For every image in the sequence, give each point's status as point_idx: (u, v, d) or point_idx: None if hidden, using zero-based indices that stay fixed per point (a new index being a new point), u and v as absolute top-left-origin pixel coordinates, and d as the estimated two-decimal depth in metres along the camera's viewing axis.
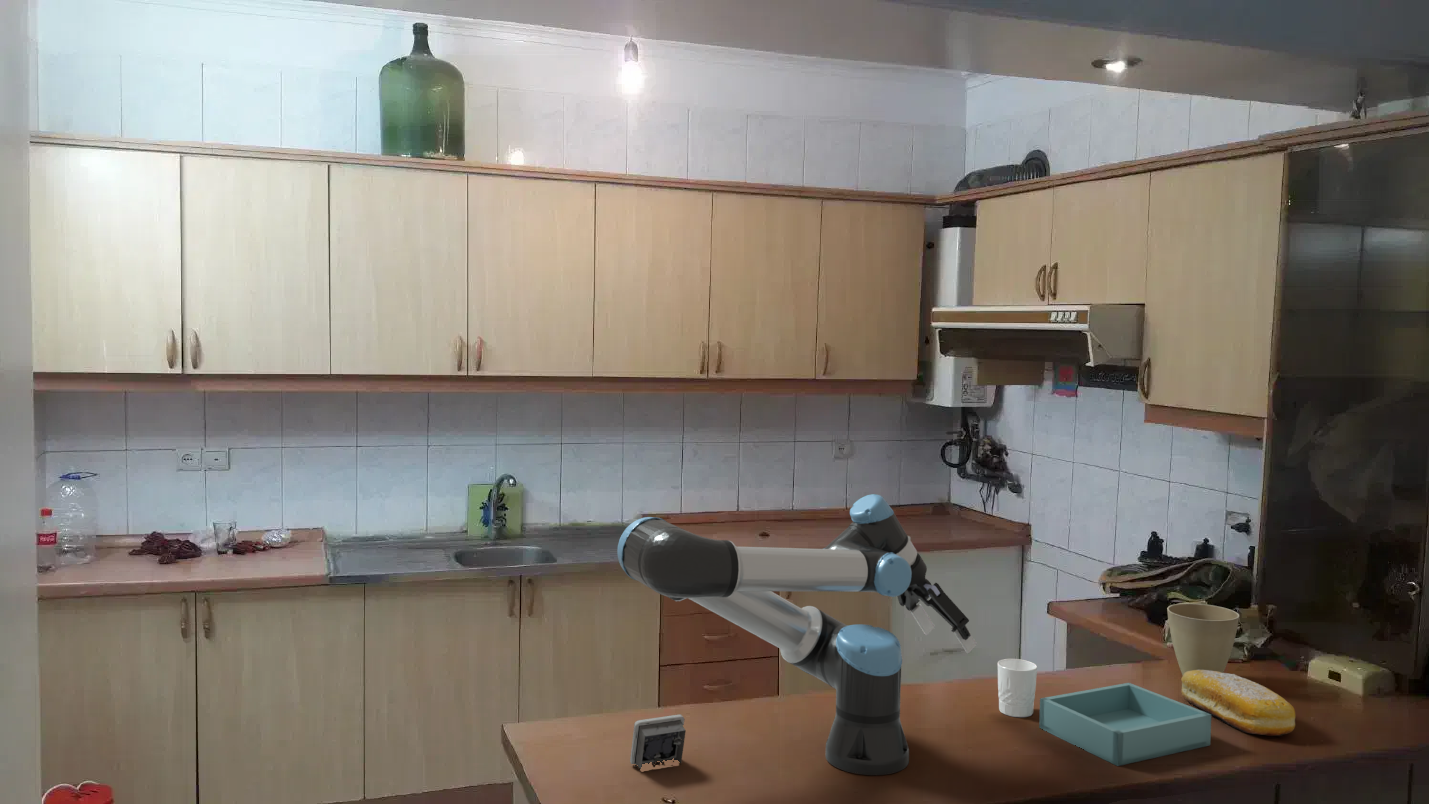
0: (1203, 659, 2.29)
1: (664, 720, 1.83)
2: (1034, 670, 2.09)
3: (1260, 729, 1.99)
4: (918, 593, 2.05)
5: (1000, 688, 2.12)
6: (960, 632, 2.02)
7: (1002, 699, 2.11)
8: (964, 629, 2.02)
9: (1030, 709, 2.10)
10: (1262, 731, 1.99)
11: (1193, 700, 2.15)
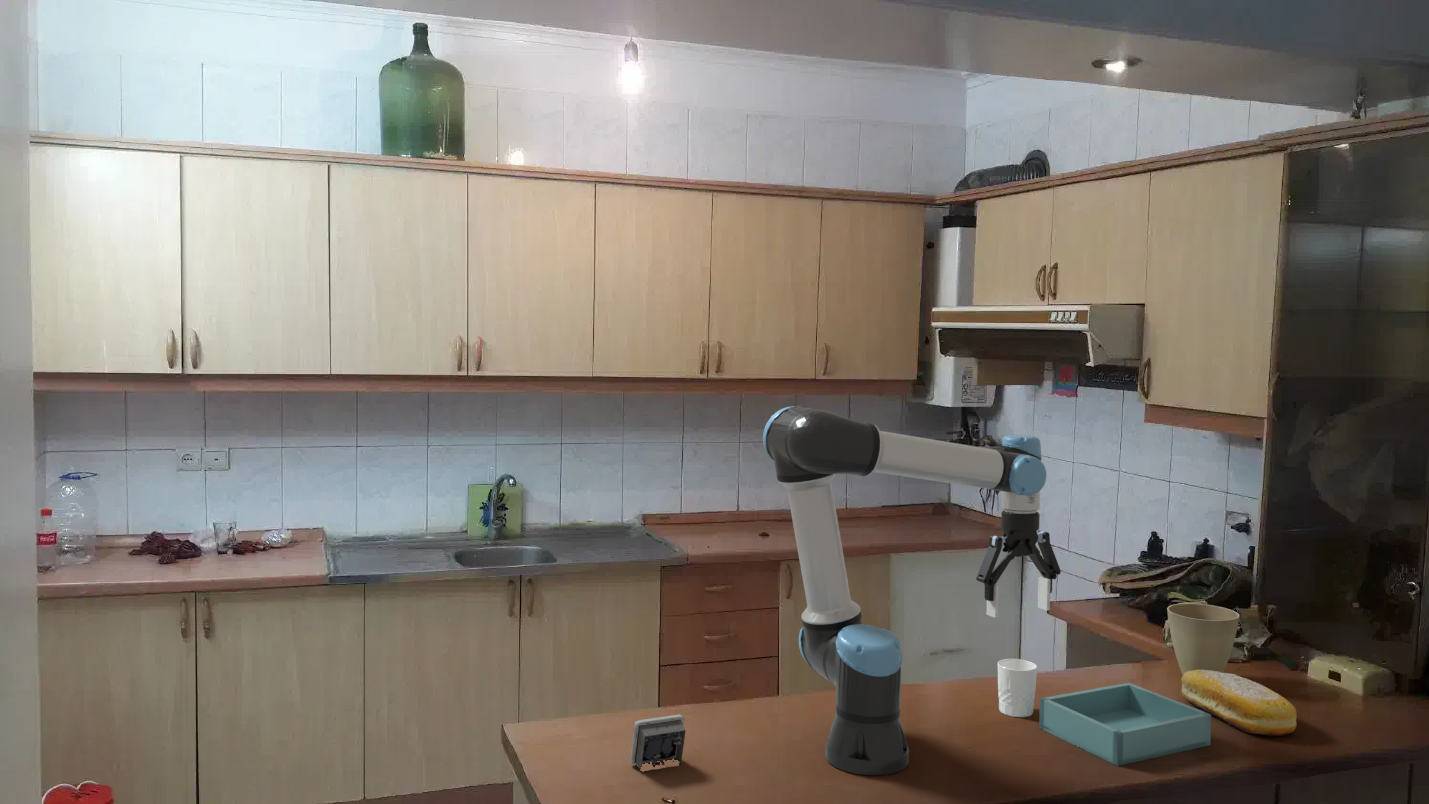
0: (1203, 659, 2.29)
1: (664, 720, 1.83)
2: (1034, 670, 2.09)
3: (1262, 729, 1.99)
4: None
5: (1000, 688, 2.12)
6: None
7: (1002, 699, 2.11)
8: (987, 590, 2.08)
9: (1030, 709, 2.10)
10: (1264, 731, 1.99)
11: (1194, 700, 2.15)
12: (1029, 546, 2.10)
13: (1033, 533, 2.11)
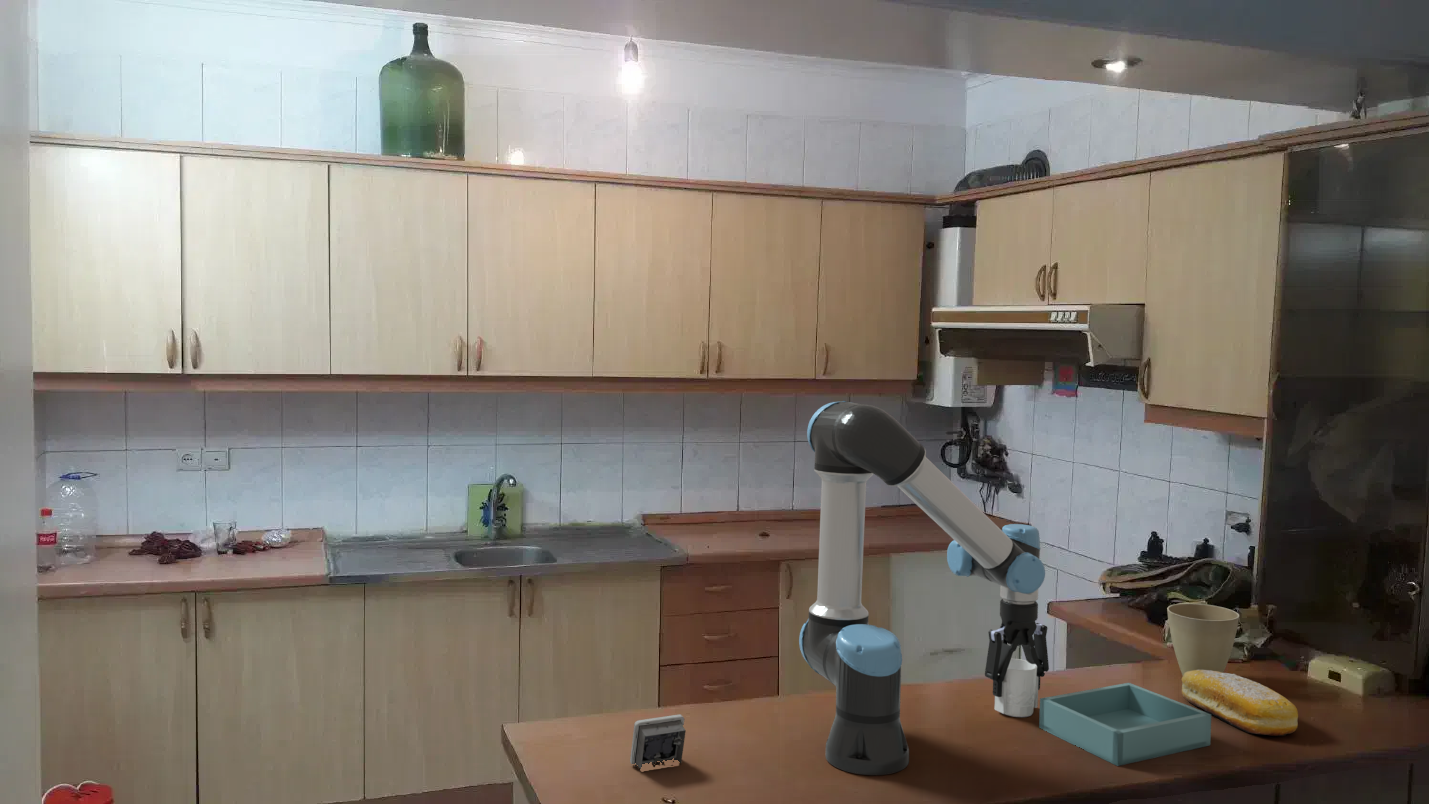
0: (1203, 659, 2.29)
1: (664, 720, 1.83)
2: (1034, 670, 2.09)
3: (1264, 729, 1.99)
4: None
5: None
6: None
7: None
8: (995, 686, 2.10)
9: (1030, 709, 2.10)
10: (1266, 731, 1.99)
11: (1194, 700, 2.14)
12: (1026, 635, 2.11)
13: (1031, 622, 2.12)
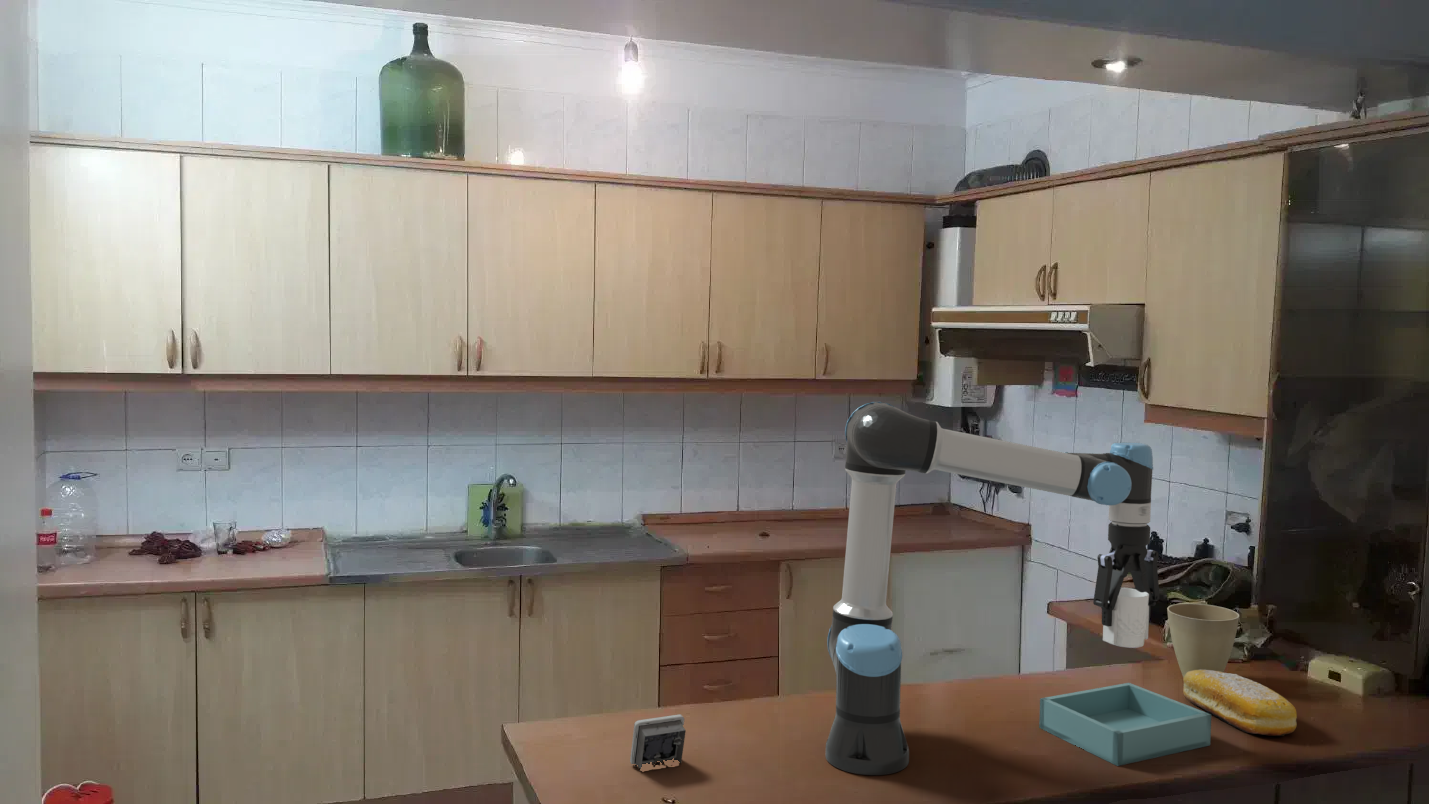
0: (1203, 659, 2.29)
1: (664, 720, 1.83)
2: (1147, 597, 1.96)
3: (1261, 729, 1.99)
4: None
5: None
6: None
7: None
8: (1105, 614, 1.96)
9: (1142, 639, 1.96)
10: (1263, 731, 1.99)
11: (1195, 700, 2.15)
12: (1137, 561, 1.97)
13: (1142, 547, 1.98)
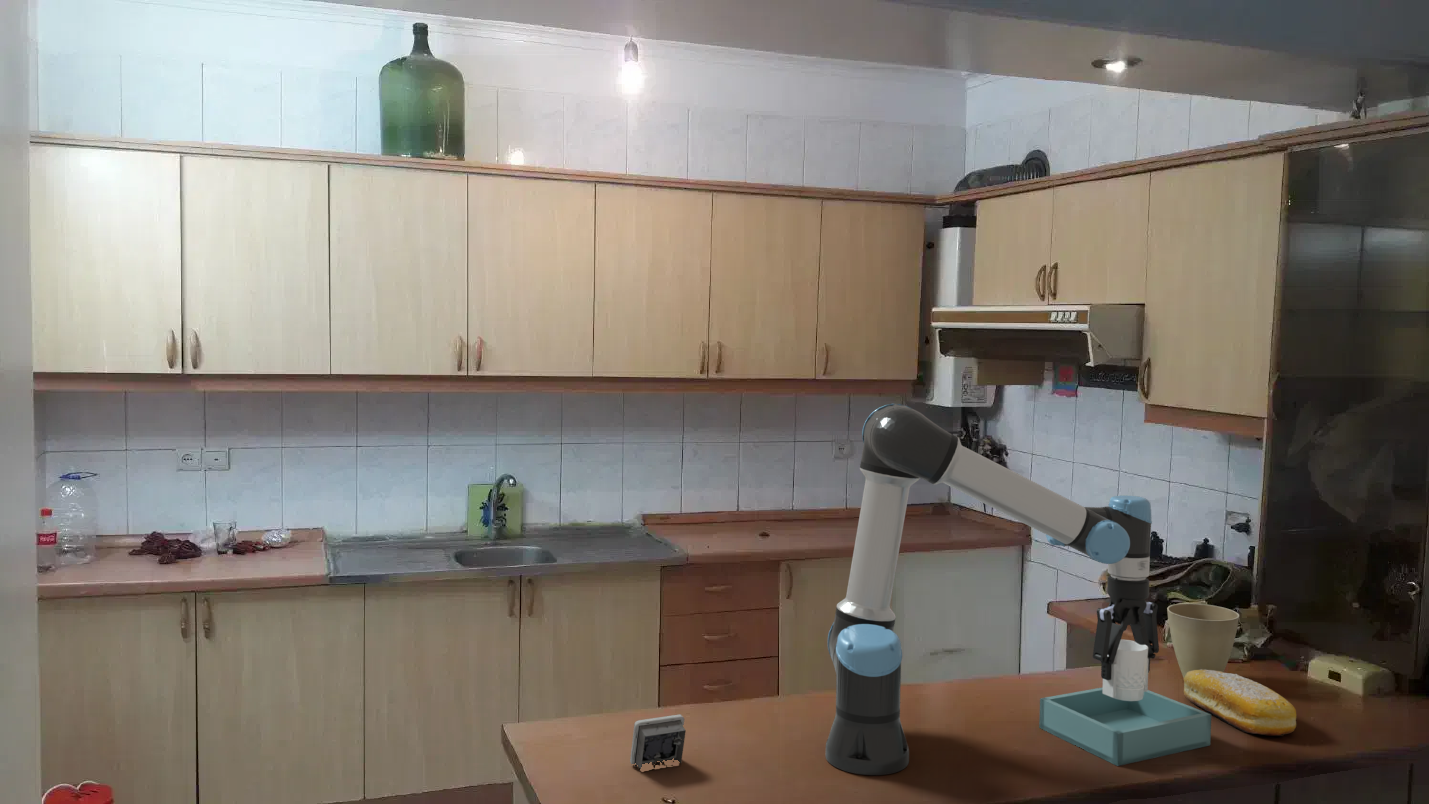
0: (1203, 659, 2.29)
1: (664, 720, 1.83)
2: (1146, 651, 1.96)
3: (1260, 728, 1.99)
4: None
5: None
6: None
7: None
8: (1104, 668, 1.96)
9: (1141, 692, 1.97)
10: (1262, 731, 1.99)
11: (1195, 700, 2.15)
12: (1137, 614, 1.97)
13: (1141, 600, 1.98)
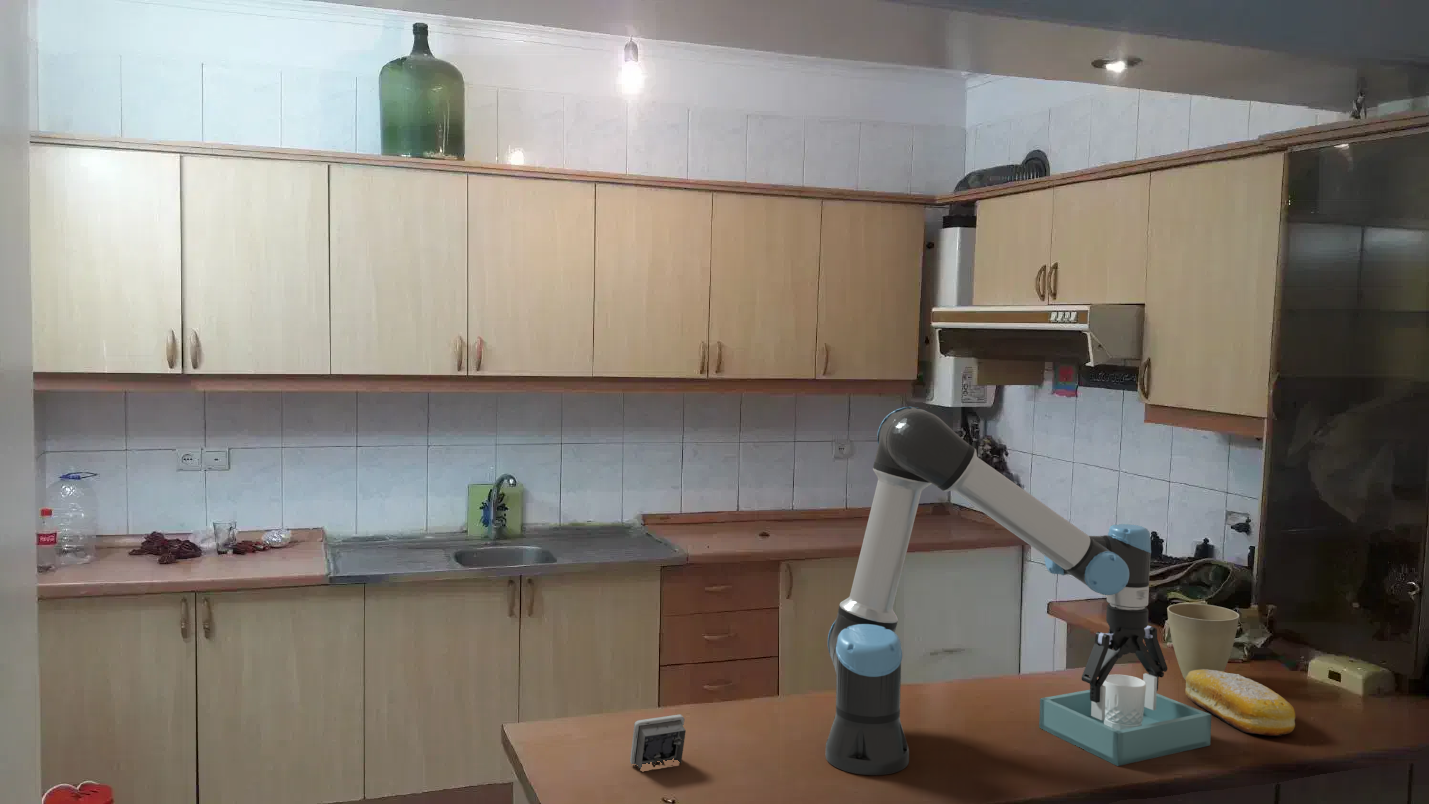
0: (1203, 659, 2.29)
1: (664, 720, 1.83)
2: (1144, 687, 1.97)
3: (1258, 728, 1.99)
4: None
5: (1106, 706, 1.99)
6: None
7: (1109, 717, 1.98)
8: (1093, 690, 1.96)
9: None
10: (1260, 731, 1.99)
11: (1195, 699, 2.15)
12: (1136, 643, 1.98)
13: (1140, 629, 1.99)
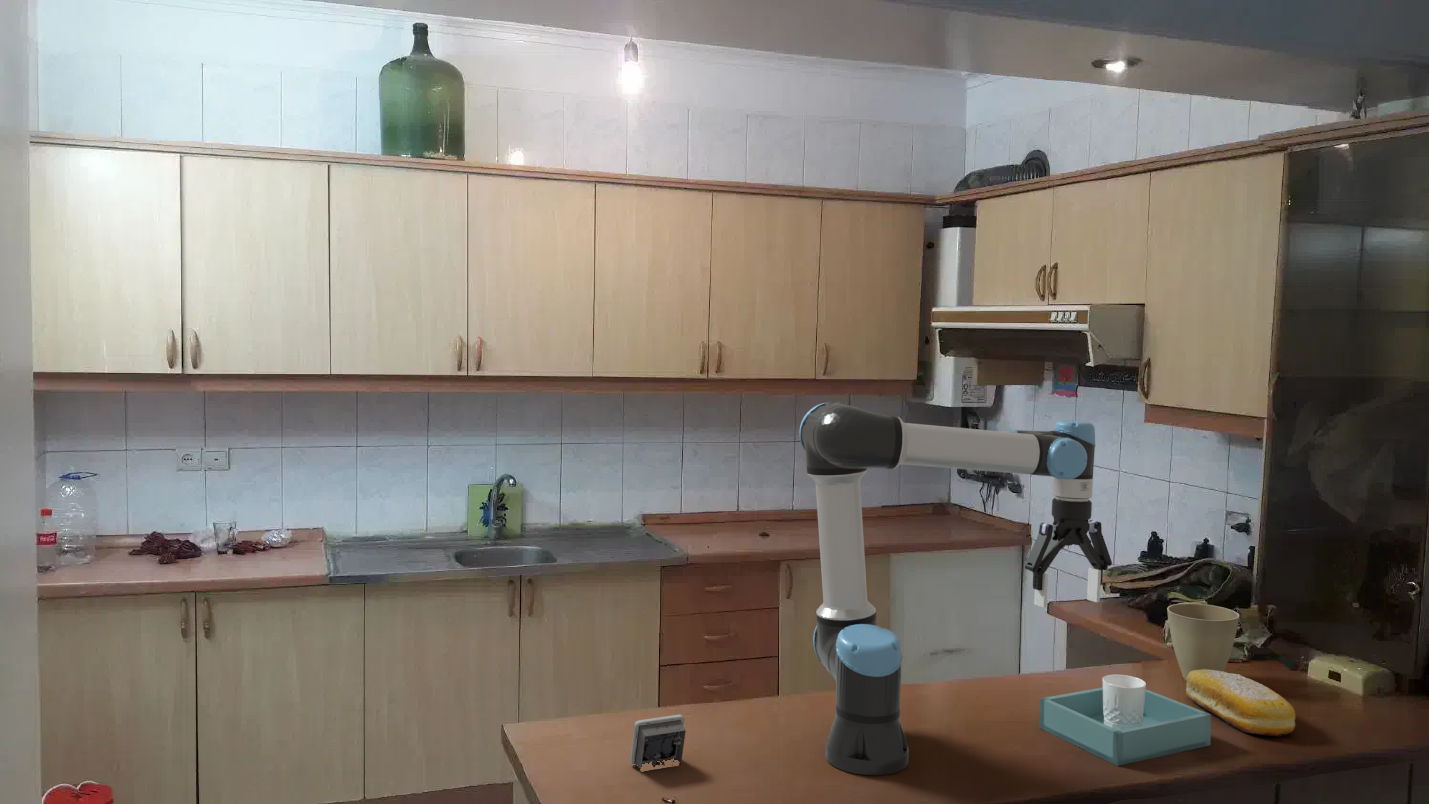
0: (1203, 659, 2.29)
1: (664, 720, 1.83)
2: (1144, 687, 1.96)
3: (1258, 728, 1.99)
4: None
5: (1106, 706, 1.99)
6: None
7: (1109, 718, 1.98)
8: (1036, 578, 2.02)
9: None
10: (1260, 731, 1.99)
11: (1195, 699, 2.15)
12: (1080, 535, 2.04)
13: (1084, 522, 2.05)
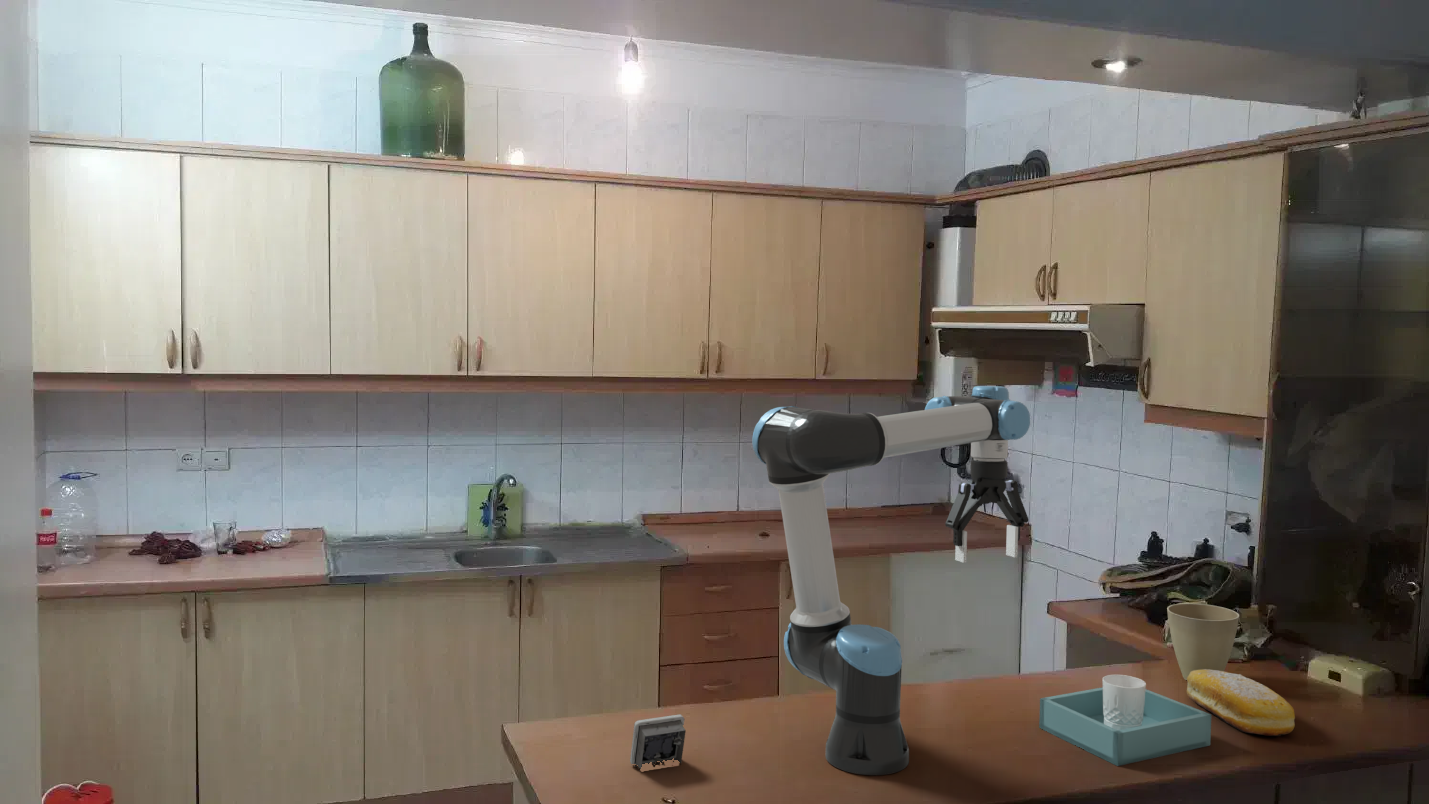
0: (1203, 659, 2.29)
1: (664, 720, 1.83)
2: (1144, 687, 1.97)
3: (1256, 728, 1.99)
4: None
5: (1106, 706, 1.99)
6: None
7: (1109, 718, 1.98)
8: (956, 535, 2.13)
9: None
10: (1259, 731, 1.99)
11: (1196, 699, 2.15)
12: (997, 494, 2.16)
13: (1001, 481, 2.17)
